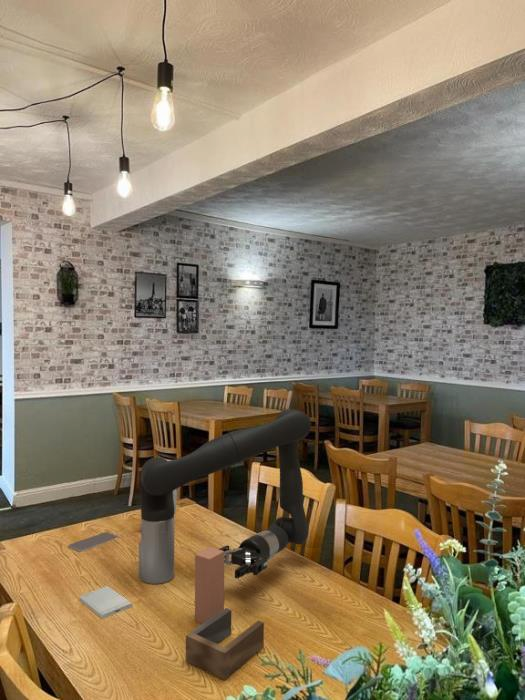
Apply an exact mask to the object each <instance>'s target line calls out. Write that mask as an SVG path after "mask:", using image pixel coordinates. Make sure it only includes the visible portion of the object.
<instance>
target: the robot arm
mask: <svg viewBox="0 0 525 700" xmlns="http://www.w3.org/2000/svg"><path fill="white" fill-rule="evenodd" d="M311 429H312V422H311V418H310V417H309V416H308V415H307V414H306V413H305V412H303V411H301V410H298V409H292V408H291V409H290V408H286V409H284V410H281V411H280V412H279V413H278V414H277V416H276V417H275V420H272V421H271V422H268V423H266V424H265V423H264V424H262V425H259V426H253V427H247V428H241V429H239V430H234V431H230V432H227V433H225V434H222V435H219V436H217V437H214V438H212V439H210V440H208V441H207V442H206V443H204V444H203V445H201V446H199V447H198V448H197V449H195V450H194V451H192V452H190V453H189V454H186V455H184V456H180V457H179V458H176V459H173V460H172V459H171V460H167V459H166V458H164V457H157V456H156V457H151V458H150V459H147V461H145V463H144V464H143V465H142V467H141V469H140V475H139V476H140V477H139V481H140V482H139V483H140V484H139V485H140V486H139V489H140V499H139V500H140V501H139V502H140V517H141V519H140V523H141V524H140V533H141V536H140V537H141V538H140V542H138V577H140V579H141V580H142V582H144V583H147V584H152V585H155V584H156V585H157V584H164V583H167V582H170V581H171V580H172V579H173V578H174V577H175V526H176V525H175V516H174V511H175V508H174V500H173V490H175V489H177V490H178V489H180V488H181V487H183V486H185V485H186V484H189V483H190V482H193V481H195V480H197V479H200V478H202V477H206V476H209V475H211V474H214V473H217V472H219V471H221V470H225V469H227V468H230V467H233V466H235V465H238V464H241V463H243V462H245V461H248V460H250V459H252V458H254V457H257V456H259V455H261V454H262V453H265V452H266V451H269V450H271V449H274V448H278V449H277V450H278V460H279V461H278V462H279V463H278V464H279V507H280V508H281V509H282V510H283V511H285V512H286V513H288V514H289V515H290V517H288V516H280V517H277V518H276V519H275V520H274V522H272V524H271V525H270V526H269V528H267V529H265V530H263V531H260V532H257V533H255V534H254V535H251V536H250V537H247V538H246V539H244V540H243V541H242V542H241V543H240V544H239V546H238V547H237V548H233V549H232V548H231V549H230V545H224V546H221V548H218V549H219V550H222V551H224V565H225V566H232V565H233V566H234V565H236V566H238V567H237V568H236V569H235V570H234V579H237V580H238V579H240V578H243V577H244V576H245V575H250V574H252V575H253V576H258V575H260V574H261V573H262V572H263V571H264V570H266V569H267V568H268V561H269V560H271V559H272V558H274V557H275V555H277V554H279V553H280V552H281V551H283V550H284V549H285V548H287V545H288V544H289V543H290V544H295V545H303V544H304V543H305V542H306V540H307V539H308V537H309V530H310V529H309V524H308V520H307V516H306V511H305V507H304V503H303V502H304V499H303V498H304V485H303V476H302V470H301V465H300V459H299V441H302V440H304V439H305V438H306V437H307V436H308V435H309V433H310V431H311ZM230 556H231V557H230Z"/></svg>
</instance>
